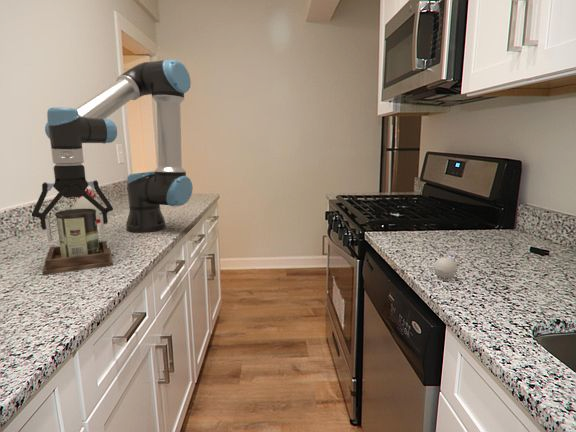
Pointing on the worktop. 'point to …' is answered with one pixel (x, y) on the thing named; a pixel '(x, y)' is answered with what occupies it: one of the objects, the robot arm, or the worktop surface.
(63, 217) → the coffee can
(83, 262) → the can holder
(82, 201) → the kitchen timer
